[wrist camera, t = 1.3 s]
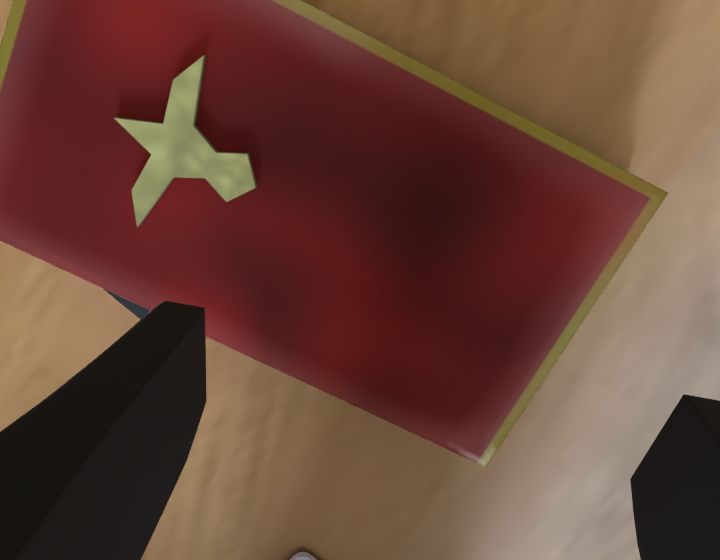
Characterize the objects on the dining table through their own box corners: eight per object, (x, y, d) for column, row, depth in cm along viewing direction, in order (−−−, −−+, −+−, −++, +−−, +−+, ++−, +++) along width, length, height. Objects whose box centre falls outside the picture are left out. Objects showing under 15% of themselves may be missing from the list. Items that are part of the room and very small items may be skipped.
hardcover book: (470, 421, 28) (481, 480, 24) (12, 204, 26) (-58, 229, 22) (627, 173, 25) (671, 194, 21) (108, -100, 23) (45, -134, 19)
